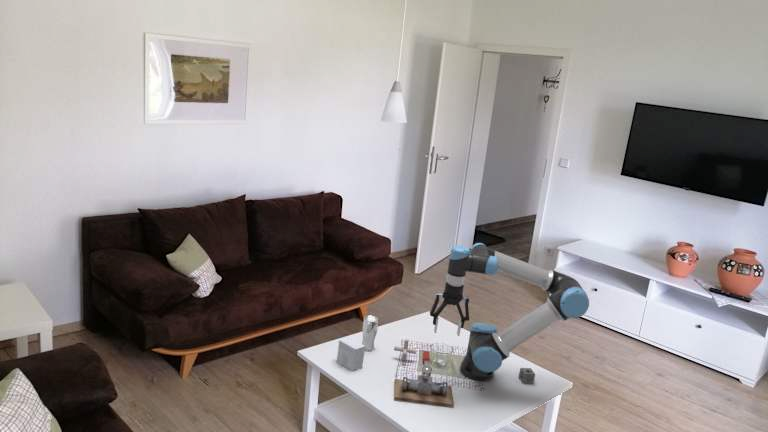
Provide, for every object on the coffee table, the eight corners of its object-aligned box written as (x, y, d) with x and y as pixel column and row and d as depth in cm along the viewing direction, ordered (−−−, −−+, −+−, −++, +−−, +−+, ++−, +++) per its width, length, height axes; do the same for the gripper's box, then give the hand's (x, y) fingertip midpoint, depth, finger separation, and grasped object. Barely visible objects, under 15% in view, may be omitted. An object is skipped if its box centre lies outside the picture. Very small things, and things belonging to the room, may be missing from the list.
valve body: (444, 391, 256) (447, 374, 254) (445, 398, 251) (448, 381, 249) (401, 386, 256) (404, 368, 254) (401, 393, 251) (404, 375, 249)
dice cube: (522, 383, 272) (524, 373, 271) (518, 377, 277) (520, 368, 276) (533, 384, 273) (535, 374, 272) (528, 378, 278) (530, 368, 277)
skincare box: (363, 367, 269) (365, 345, 266) (352, 371, 264) (355, 349, 261) (346, 357, 276) (349, 336, 273) (336, 361, 271) (338, 339, 268)
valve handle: (429, 357, 265) (430, 351, 264) (430, 377, 249) (432, 370, 249) (420, 356, 265) (421, 350, 264) (422, 376, 249) (423, 369, 249)
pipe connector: (415, 356, 284) (418, 336, 281) (413, 367, 275) (417, 346, 272) (393, 352, 285) (396, 333, 282) (391, 363, 275) (394, 343, 273)
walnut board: (450, 388, 260) (451, 385, 260) (453, 407, 247) (453, 404, 247) (394, 381, 260) (394, 378, 260) (394, 400, 247) (394, 396, 246)
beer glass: (360, 343, 290) (364, 314, 286) (375, 345, 290) (379, 316, 286) (359, 350, 283) (363, 320, 279) (374, 352, 283) (378, 322, 279)
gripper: (480, 283, 256) (471, 332, 262) (428, 276, 256) (420, 325, 262) (482, 290, 249) (473, 340, 255) (428, 283, 248) (421, 333, 254)
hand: (446, 333), depth 258 cm, fingers open, 9 cm apart
